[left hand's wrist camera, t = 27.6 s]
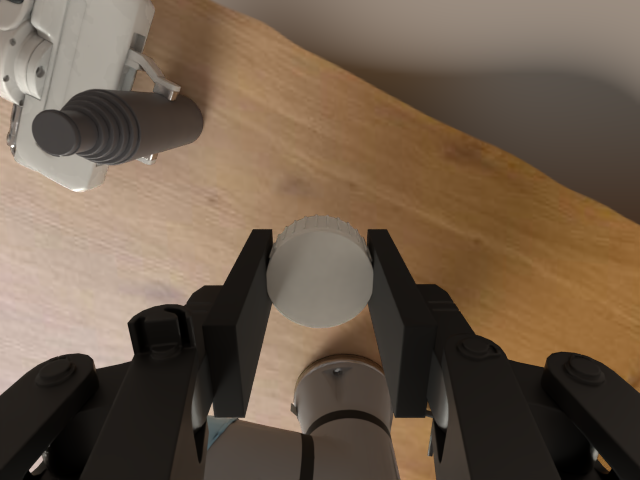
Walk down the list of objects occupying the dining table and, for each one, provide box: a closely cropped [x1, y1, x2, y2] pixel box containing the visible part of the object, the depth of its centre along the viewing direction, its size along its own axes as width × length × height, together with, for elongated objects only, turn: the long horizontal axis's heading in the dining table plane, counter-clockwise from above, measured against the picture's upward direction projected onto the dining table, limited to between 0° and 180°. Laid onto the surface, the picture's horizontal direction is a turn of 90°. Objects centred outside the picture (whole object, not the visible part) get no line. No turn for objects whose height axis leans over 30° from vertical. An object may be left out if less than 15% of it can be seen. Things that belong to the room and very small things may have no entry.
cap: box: [266, 215, 373, 328], centre depth 13 cm, size 4×4×2 cm
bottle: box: [32, 89, 203, 165], centre depth 32 cm, size 6×6×21 cm
